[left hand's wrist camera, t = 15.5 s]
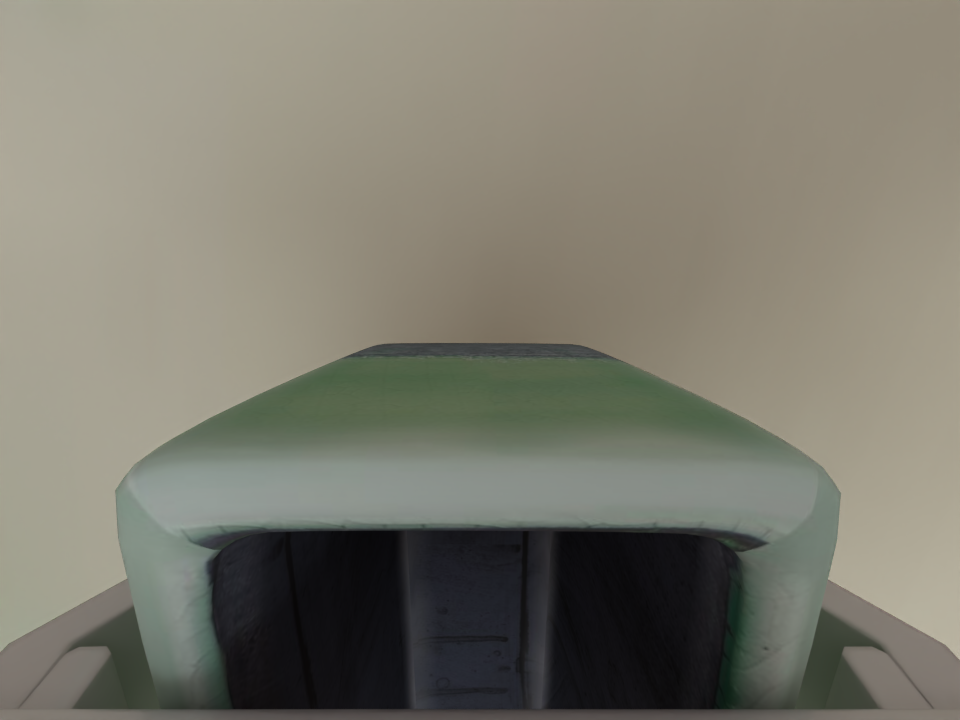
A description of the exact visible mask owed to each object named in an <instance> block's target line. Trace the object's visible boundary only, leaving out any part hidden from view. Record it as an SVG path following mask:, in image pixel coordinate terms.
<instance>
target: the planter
mask: <svg viewBox="0 0 960 720" xmlns="http://www.w3.org/2000/svg"><path fill="white" fill-rule="evenodd" d="M115 492H116V509H117V526H118V539H119V543H120V548H121V552H122V557H123V561H124V565H125V569H126V574H127V578H128V582H129V587H130V591H131V595H132V600H133V604H134V608H135V612H136V617H137V621H138V625H139V630H140V634H141V638H142V643H143V646H144V650H145V654H146V657H147V661H148V664H149V668H150V672H151V675H152V679H153V683H154V686H155V690H156V694H157V697H158V701H159V705H160V708H161V709H795V706H796V702H797V698H798V695H799V691H800V687H801V684H802V680H803V676H804V673H805V669H806V666H807V662H808V658H809V655H810V651H811V647H812V643H813V639H814V635H815V631H816V627H817V622H818V618H819V614H820V610H821V606H822V601H823V597H824V593H825V589H826V584H827V580H828V576H829V572H830V568H831V563H832V559H833V555H834V551H835V546H836V542H837V534H838V521H839V509H840V496H841V493H840V491H839V490H838V488H837V486H836V485H835V483H834V482H833V480H832V479H831V478H830V476H829V475H828V474H827V472H826V471H825V470H824V468H823V467H822V466H821V465H819V464H818V463H816V462H815V461H814V460H812V459H811V458H810V457H808V456H807V455H806V454H804V453H803V452H802V451H800V450H799V449H797V448H796V447H794V446H792V445H791V444H789V443H787V442H786V441H784V440H782V439H780V438H779V437H777V436H775V435H773V434H772V433H770V432H768V431H766V430H765V429H763V428H761V427H759V426H757V425H756V424H754V423H752V422H750V421H749V420H747V419H745V418H743V417H741V416H739V415H737V414H735V413H733V412H731V411H729V410H727V409H725V408H723V407H721V406H718V405H716V404H714V403H712V402H710V401H708V400H706V399H704V398H702V397H700V396H698V395H696V394H694V393H692V392H689V391H687V390H685V389H683V388H681V387H679V386H676V385H674V384H672V383H670V382H668V381H666V380H664V379H661V378H659V377H657V376H655V375H652V374H650V373H648V372H646V371H643V370H641V369H639V368H637V367H634V366H632V365H630V364H628V363H625V362H623V361H620V360H618V359H616V358H613V357H611V356H609V355H606V354H604V353H601V352H598V351H596V350H593V349H590V348H588V347H584V346H580V345H573V344H519V343H400V344H381V345H376V346H372V347H369V348H367V349H364V350H361V351H359V352H356V353H353V354H351V355H349V356H346V357H344V358H341V359H339V360H336V361H334V362H331V363H329V364H327V365H324V366H322V367H320V368H318V369H315V370H313V371H311V372H308V373H306V374H304V375H301V376H299V377H297V378H295V379H292V380H290V381H288V382H286V383H283V384H281V385H279V386H277V387H275V388H272V389H270V390H268V391H266V392H264V393H261V394H259V395H257V396H255V397H253V398H251V399H249V400H247V401H244V402H242V403H240V404H238V405H236V406H234V407H232V408H230V409H228V410H226V411H224V412H222V413H220V414H217V415H215V416H213V417H211V418H209V419H207V420H206V421H204V422H202V423H200V424H198V425H197V426H195V427H193V428H191V429H189V430H188V431H186V432H184V433H182V434H180V435H179V436H177V437H175V438H173V439H171V440H170V441H168V442H167V443H165V444H163V445H162V446H160V447H158V448H157V449H155V450H154V451H153V452H151V453H150V454H149V455H147V456H146V457H144V458H143V459H142V460H140V461H139V462H138V463H136V464H135V465H134V466H133V467H132V468H131V470H130V471H129V472H128V473H127V475H126V476H125V477H124V478H123V480H122V481H121V483H120V484H119V486H118V487H117V489H116V490H115Z"/></svg>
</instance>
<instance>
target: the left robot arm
mask: <svg viewBox="0 0 960 720" xmlns="http://www.w3.org/2000/svg"><path fill="white" fill-rule="evenodd" d="M0 720H960V660H959V659H958V658H957V657H956V656H955V655H954V654H953V653H952V652H951V651H950V649H949V648H948V647H947V646H946V645H944V644H943V643H941V642H939V641H937V640H935V639H934V638H932V637H930V636H928V635H926V634H925V633H923V632H921V631H919V630H917V629H916V628H914V627H912V626H910V625H909V624H907V623H905V622H903V621H901V620H900V619H898V618H896V617H894V616H892V615H891V614H889V613H887V612H885V611H883V610H882V609H880V608H878V607H876V606H874V605H873V604H871V603H869V602H867V601H865V600H864V599H862V598H860V597H858V596H856V595H855V594H853V593H851V592H849V591H847V590H846V589H844V588H842V587H840V586H838V585H837V584H835V583H833V582H831V581H830V580H827V584H826V589H825V593H824V597H823V601H822V606H821V610H820V614H819V618H818V622H817V627H816V631H815V635H814V639H813V643H812V647H811V651H810V655H809V658H808V662H807V666H806V669H805V673H804V676H803V680H802V684H801V687H800V691H799V695H798V698H797V702H796V706H795V709H161V708H160V705H159V701H158V697H157V694H156V690H155V686H154V683H153V679H152V675H151V672H150V668H149V664H148V661H147V657H146V654H145V650H144V646H143V643H142V638H141V634H140V630H139V625H138V621H137V617H136V612H135V608H134V604H133V600H132V595H131V591H130V587H129V582H128V579H126V580H124V581H122V582H120V583H119V584H117V585H115V586H113V587H111V588H109V589H108V590H106V591H104V592H102V593H100V594H99V595H97V596H95V597H93V598H91V599H89V600H88V601H86V602H84V603H82V604H80V605H79V606H77V607H75V608H73V609H71V610H69V611H68V612H66V613H64V614H62V615H60V616H59V617H57V618H55V619H53V620H51V621H49V622H48V623H46V624H44V625H42V626H40V627H39V628H37V629H35V630H33V631H31V632H29V633H28V634H26V635H24V636H22V637H20V638H19V639H17V640H15V641H13V642H11V643H9V644H8V645H7V646H6V647H5V648H4V649H3V650H2V651H1V652H0Z"/></svg>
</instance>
